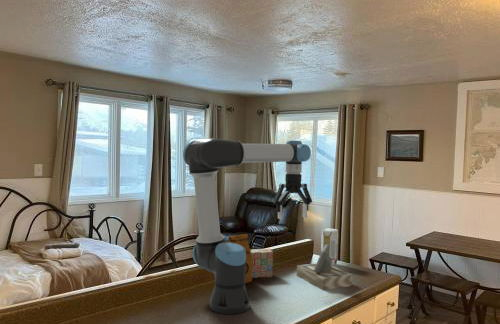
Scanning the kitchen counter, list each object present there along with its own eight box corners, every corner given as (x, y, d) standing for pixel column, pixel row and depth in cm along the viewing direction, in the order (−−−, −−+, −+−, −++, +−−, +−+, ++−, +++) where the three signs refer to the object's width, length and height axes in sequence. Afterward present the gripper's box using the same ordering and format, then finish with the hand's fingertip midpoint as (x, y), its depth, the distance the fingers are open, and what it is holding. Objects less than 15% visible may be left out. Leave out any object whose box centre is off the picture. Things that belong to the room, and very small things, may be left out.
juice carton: (338, 264, 218) (339, 229, 218) (332, 267, 211) (333, 231, 211) (325, 261, 222) (326, 227, 222) (319, 265, 215) (320, 229, 215)
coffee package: (255, 283, 182) (256, 235, 182) (232, 288, 175) (234, 238, 174) (242, 277, 190) (243, 231, 190) (220, 282, 183) (221, 234, 182)
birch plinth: (322, 290, 175) (323, 278, 175) (296, 275, 195) (296, 265, 195) (352, 285, 182) (352, 274, 182) (323, 272, 202) (324, 262, 202)
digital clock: (318, 264, 198) (319, 242, 198) (336, 267, 194) (337, 245, 193) (307, 272, 184) (308, 249, 183) (326, 275, 179) (327, 251, 179)
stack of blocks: (229, 280, 187) (230, 253, 187) (226, 275, 193) (226, 250, 193) (272, 277, 193) (273, 251, 193) (268, 273, 199) (269, 248, 199)
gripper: (273, 173, 181) (272, 220, 181) (320, 173, 191) (319, 218, 192) (266, 172, 188) (265, 218, 188) (311, 172, 198) (310, 215, 199)
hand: (292, 218), depth 190 cm, fingers open, 13 cm apart
